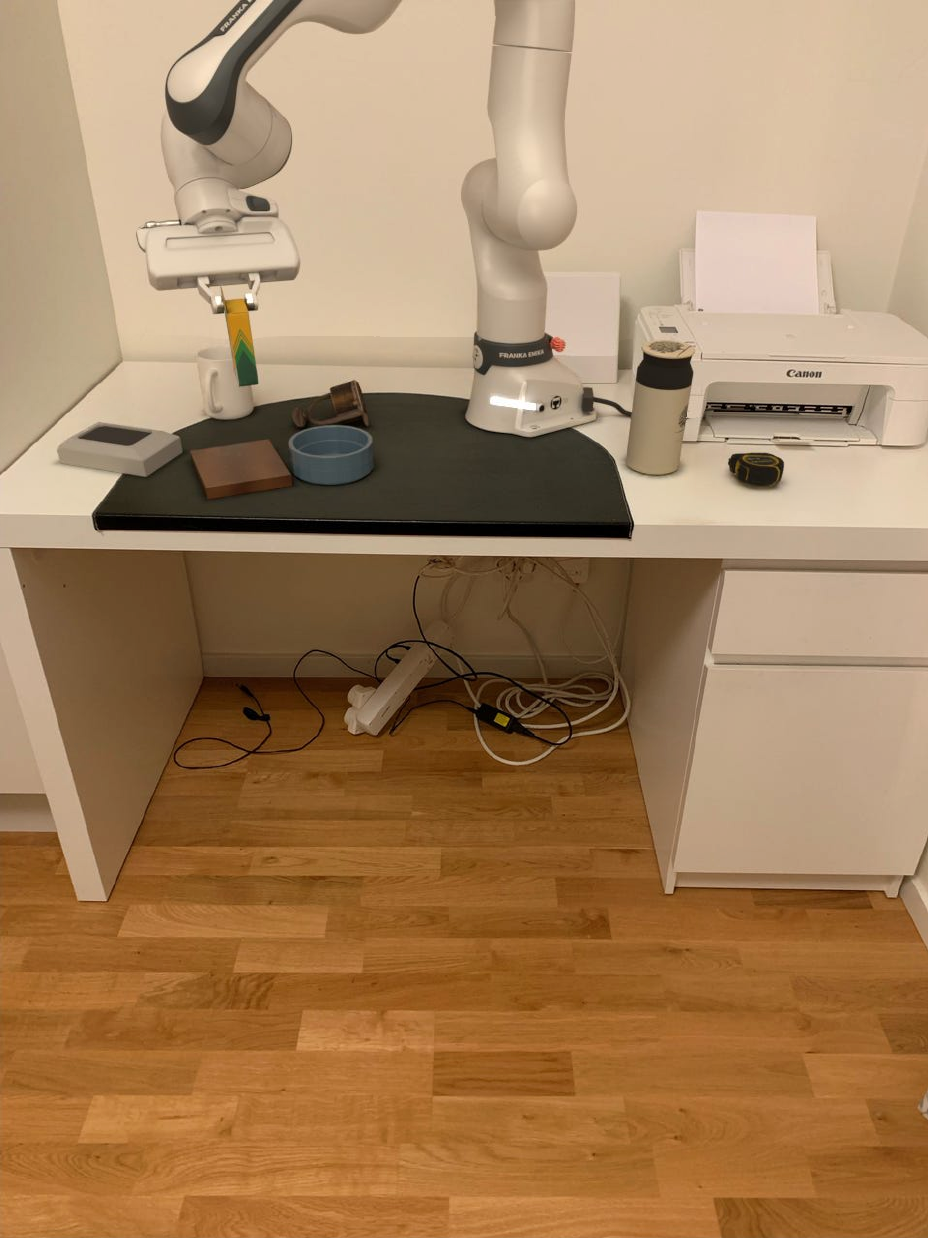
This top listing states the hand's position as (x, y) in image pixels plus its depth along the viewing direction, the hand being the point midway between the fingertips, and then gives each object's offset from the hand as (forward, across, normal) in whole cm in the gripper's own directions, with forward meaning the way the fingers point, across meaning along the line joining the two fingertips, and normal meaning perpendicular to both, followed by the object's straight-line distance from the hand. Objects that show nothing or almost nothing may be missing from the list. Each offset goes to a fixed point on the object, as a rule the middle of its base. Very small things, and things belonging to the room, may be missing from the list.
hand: (236, 310), depth 117 cm
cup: (0, 0, +34) cm, 34 cm away
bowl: (+19, +11, +14) cm, 26 cm away
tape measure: (+38, +67, -6) cm, 77 cm away
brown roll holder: (+6, +16, +27) cm, 32 cm away
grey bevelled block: (+8, -18, +25) cm, 32 cm away
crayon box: (+7, 0, +6) cm, 9 cm away
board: (+17, -2, +16) cm, 23 cm away
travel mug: (+31, +56, +2) cm, 64 cm away
